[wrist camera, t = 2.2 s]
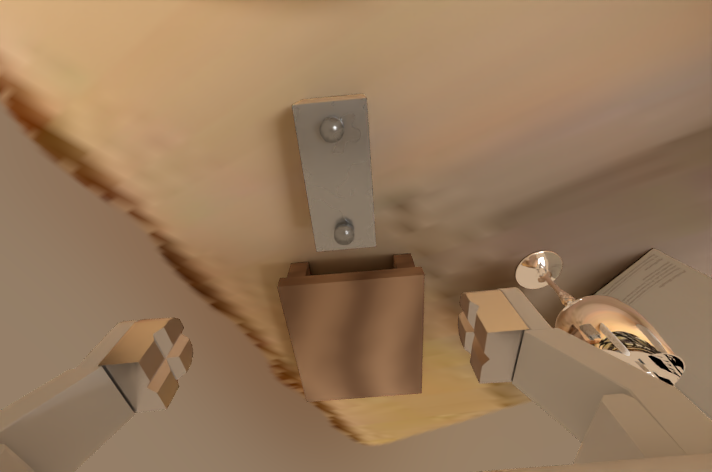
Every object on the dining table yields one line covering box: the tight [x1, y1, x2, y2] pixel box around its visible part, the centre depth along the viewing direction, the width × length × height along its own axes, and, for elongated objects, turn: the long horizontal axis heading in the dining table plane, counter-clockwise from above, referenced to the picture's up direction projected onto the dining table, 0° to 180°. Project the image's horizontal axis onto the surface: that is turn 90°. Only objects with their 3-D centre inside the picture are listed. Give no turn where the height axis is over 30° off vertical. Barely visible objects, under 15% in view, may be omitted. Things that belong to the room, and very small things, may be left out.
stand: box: [277, 254, 425, 402], centre depth 30 cm, size 12×15×4 cm
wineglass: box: [515, 250, 685, 386], centre depth 24 cm, size 6×6×12 cm
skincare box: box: [594, 249, 712, 420], centre depth 24 cm, size 8×6×15 cm
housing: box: [292, 93, 376, 252], centre depth 22 cm, size 4×10×6 cm, turn 5°
